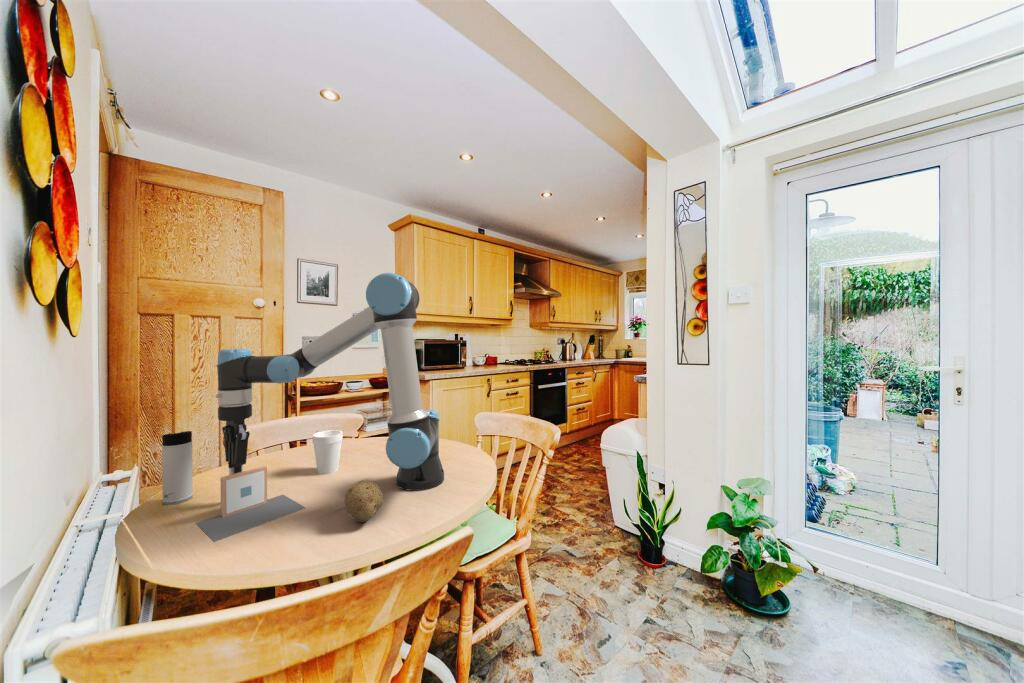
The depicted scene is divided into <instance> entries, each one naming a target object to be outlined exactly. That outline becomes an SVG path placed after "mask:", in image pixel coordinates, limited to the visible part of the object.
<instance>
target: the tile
mask: <svg viewBox="0 0 1024 683" xmlns="http://www.w3.org/2000/svg"><path fill="white" fill-rule="evenodd" d="M267 500H268V468H267V466H264V465H263V466H260V467H256V468H252V469H247V470H243V472H239V473H236V474H232V475H229V474H228V475H224V476H220V515H221V516H222V517H226V516H229V515H232V514H235V513H238V512H241V511H244V510H247V509H250V508H253V507H256V506H259V505H262V504H265V503H267Z"/></svg>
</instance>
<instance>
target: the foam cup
mask: <svg viewBox="0 0 1024 683" xmlns="http://www.w3.org/2000/svg"><path fill="white" fill-rule="evenodd" d="M343 437H344V435H343V431H342V430H339V429H338V430H336V429H330V430H329V429H327V430H322V431H318V432H314V433H313V434H312V444H313V449H314V456H315V463H316V470H317V473H318V474H319V475H329V474H333V473H336V472H337V471H339V464H340V457H341V450H342V441H343V440H344V438H343Z"/></svg>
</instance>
